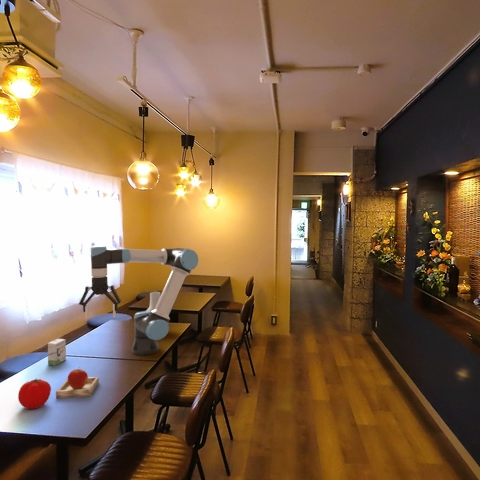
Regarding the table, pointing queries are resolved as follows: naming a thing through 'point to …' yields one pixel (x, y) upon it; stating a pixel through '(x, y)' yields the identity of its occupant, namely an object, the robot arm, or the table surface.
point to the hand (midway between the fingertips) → (100, 317)
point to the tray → (85, 391)
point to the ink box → (56, 351)
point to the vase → (153, 300)
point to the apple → (77, 378)
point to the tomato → (34, 393)
